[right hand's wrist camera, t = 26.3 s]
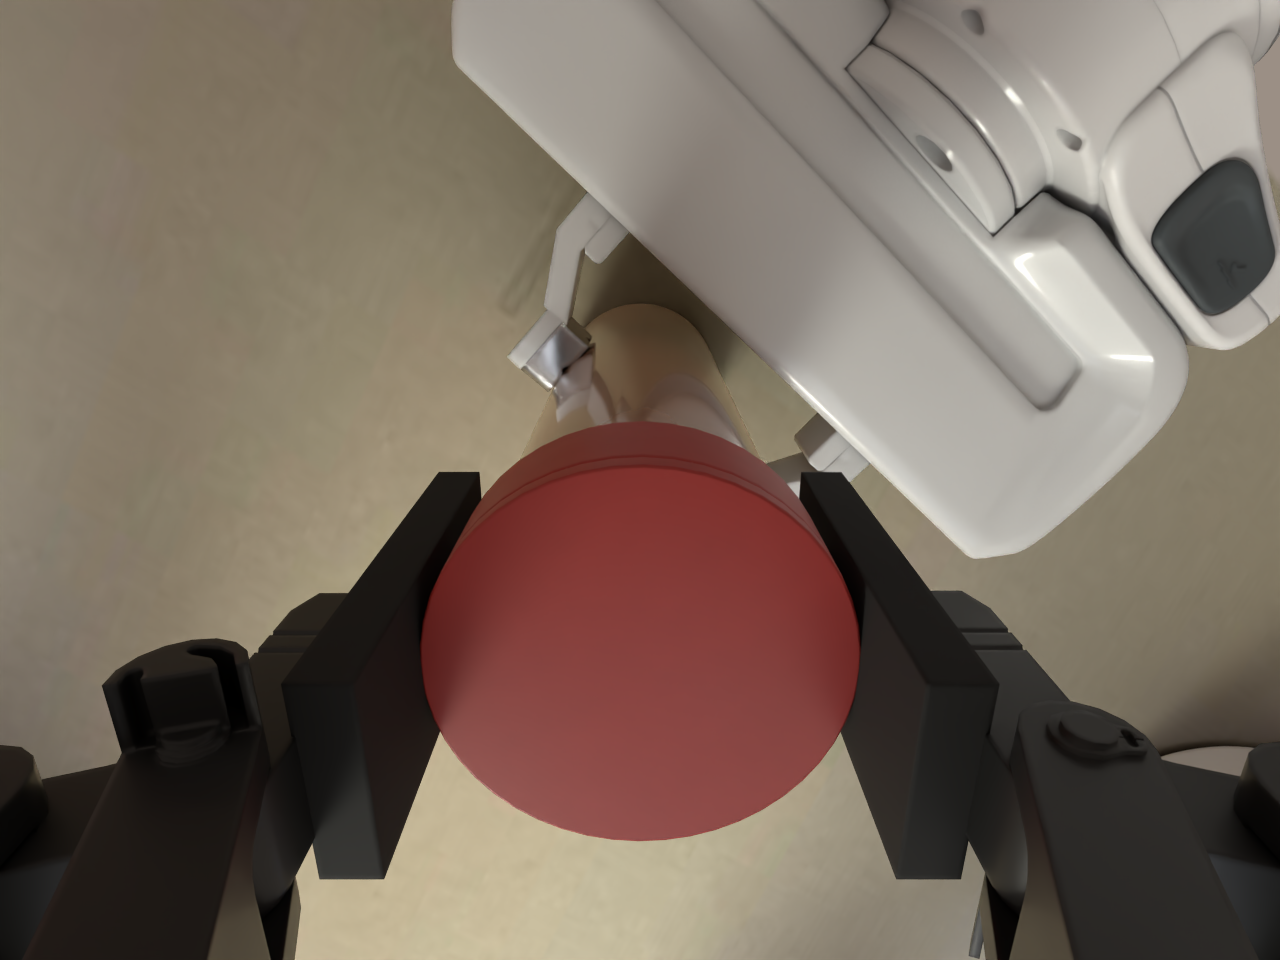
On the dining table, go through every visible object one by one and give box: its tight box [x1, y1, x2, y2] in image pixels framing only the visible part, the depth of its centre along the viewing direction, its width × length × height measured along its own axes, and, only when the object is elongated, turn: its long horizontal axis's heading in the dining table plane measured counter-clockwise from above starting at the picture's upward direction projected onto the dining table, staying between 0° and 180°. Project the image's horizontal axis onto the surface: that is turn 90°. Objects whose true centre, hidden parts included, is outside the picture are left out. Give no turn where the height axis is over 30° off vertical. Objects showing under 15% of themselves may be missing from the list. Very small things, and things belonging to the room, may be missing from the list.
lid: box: [420, 421, 861, 841], centre depth 11 cm, size 6×6×2 cm
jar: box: [520, 303, 761, 460], centre depth 19 cm, size 5×5×17 cm
